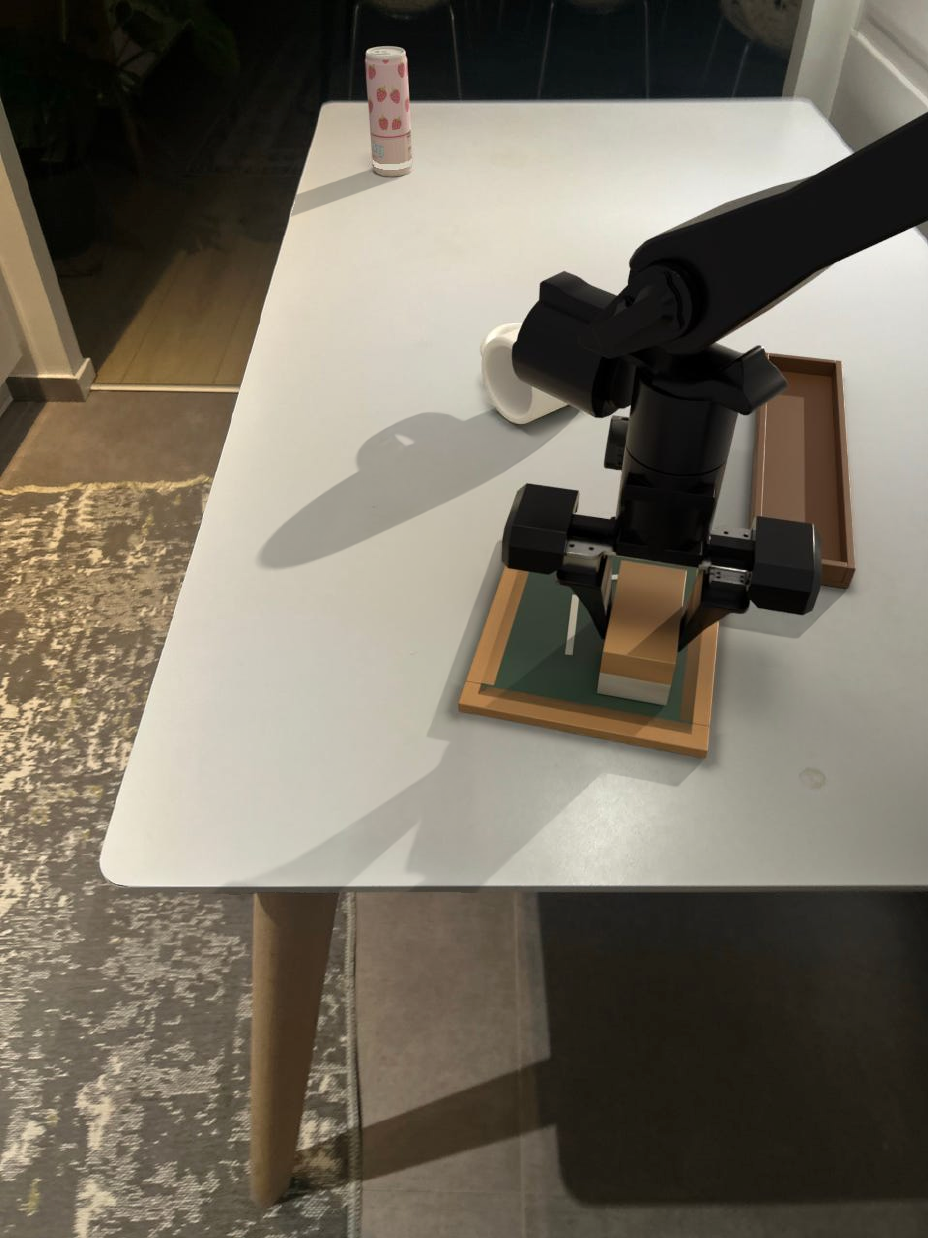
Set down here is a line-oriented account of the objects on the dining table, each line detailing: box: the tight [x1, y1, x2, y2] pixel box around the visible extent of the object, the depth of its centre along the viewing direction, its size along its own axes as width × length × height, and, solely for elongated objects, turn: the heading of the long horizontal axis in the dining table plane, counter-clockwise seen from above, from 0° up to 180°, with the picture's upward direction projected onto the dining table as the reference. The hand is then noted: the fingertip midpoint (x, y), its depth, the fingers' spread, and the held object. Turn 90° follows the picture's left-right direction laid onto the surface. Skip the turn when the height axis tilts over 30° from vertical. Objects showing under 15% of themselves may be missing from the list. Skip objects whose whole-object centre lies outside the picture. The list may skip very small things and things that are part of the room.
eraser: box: [597, 560, 687, 706], centre depth 62 cm, size 9×4×4 cm, turn 166°
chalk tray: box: [748, 351, 857, 589], centre depth 79 cm, size 7×31×2 cm, turn 166°
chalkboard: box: [457, 556, 720, 759], centre depth 66 cm, size 16×20×1 cm
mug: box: [479, 322, 569, 425], centre depth 86 cm, size 12×10×8 cm
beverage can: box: [364, 45, 414, 178], centre depth 127 cm, size 6×6×15 cm
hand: (641, 641), depth 62 cm, fingers closed on eraser, 4 cm apart
